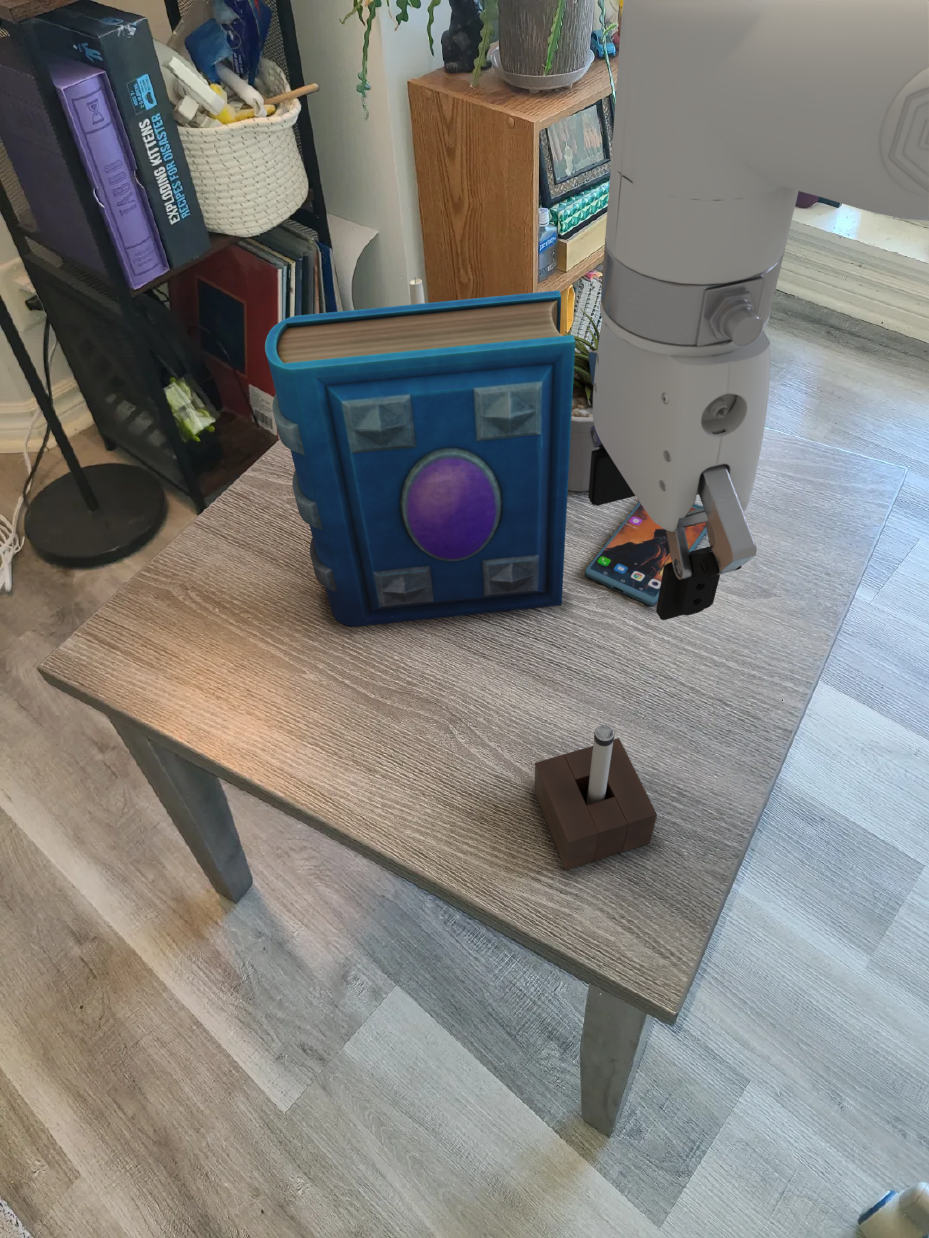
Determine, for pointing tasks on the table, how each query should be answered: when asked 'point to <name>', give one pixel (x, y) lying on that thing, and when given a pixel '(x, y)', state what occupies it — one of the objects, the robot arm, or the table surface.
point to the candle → (416, 292)
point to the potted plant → (581, 415)
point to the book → (430, 453)
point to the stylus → (600, 763)
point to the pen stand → (593, 807)
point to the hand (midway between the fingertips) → (646, 550)
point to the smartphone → (638, 555)
